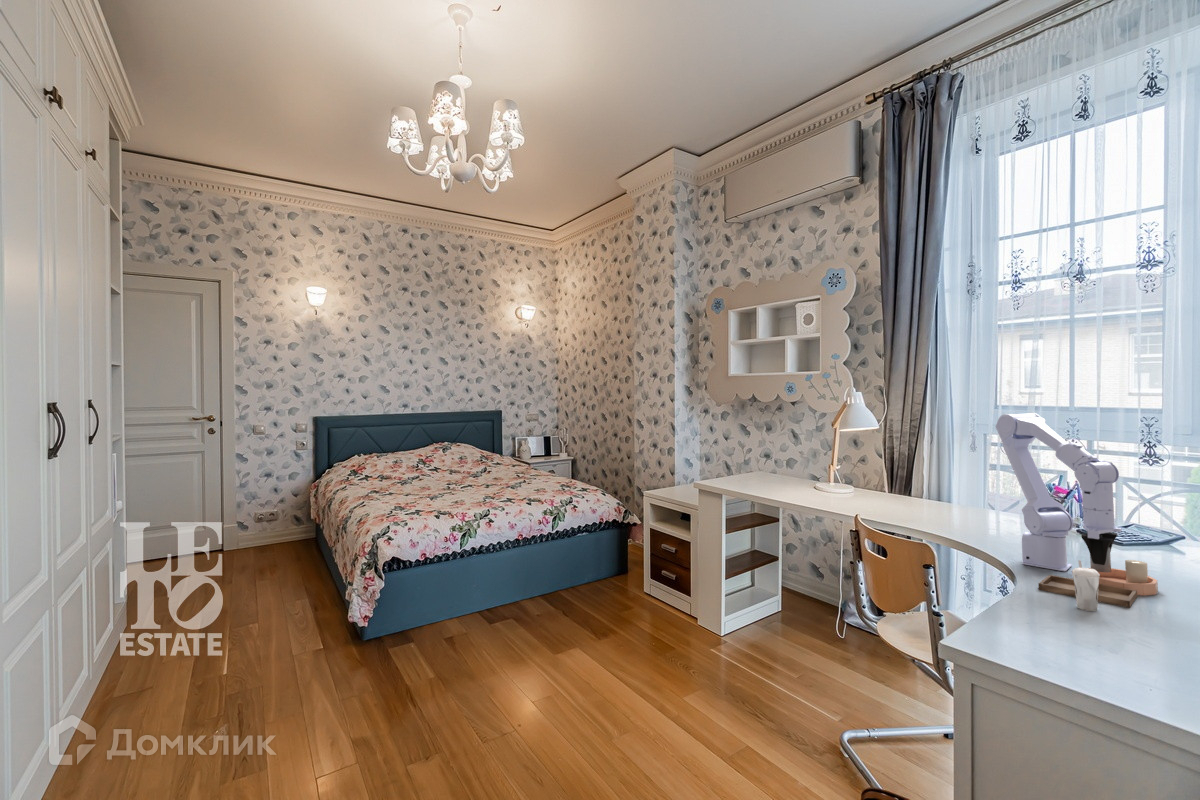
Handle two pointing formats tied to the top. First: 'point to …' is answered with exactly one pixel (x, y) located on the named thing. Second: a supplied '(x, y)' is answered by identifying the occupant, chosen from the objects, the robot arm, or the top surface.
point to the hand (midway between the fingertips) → (1100, 562)
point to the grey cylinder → (1102, 567)
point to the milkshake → (1086, 588)
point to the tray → (1104, 592)
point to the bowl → (1119, 580)
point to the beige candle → (1136, 571)
